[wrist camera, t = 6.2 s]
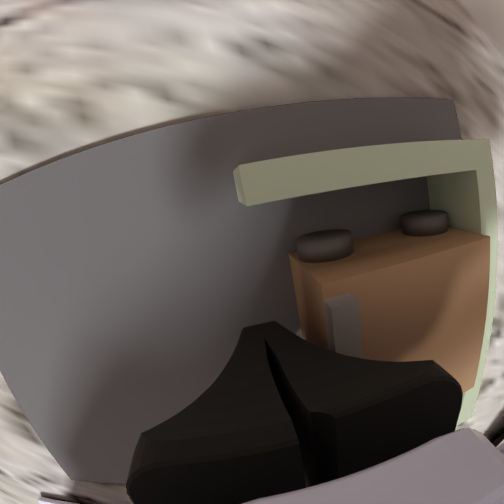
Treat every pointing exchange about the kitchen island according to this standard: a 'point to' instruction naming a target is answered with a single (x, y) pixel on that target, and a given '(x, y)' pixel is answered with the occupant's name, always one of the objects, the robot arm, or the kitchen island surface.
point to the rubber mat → (171, 263)
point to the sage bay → (390, 169)
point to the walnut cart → (397, 293)
